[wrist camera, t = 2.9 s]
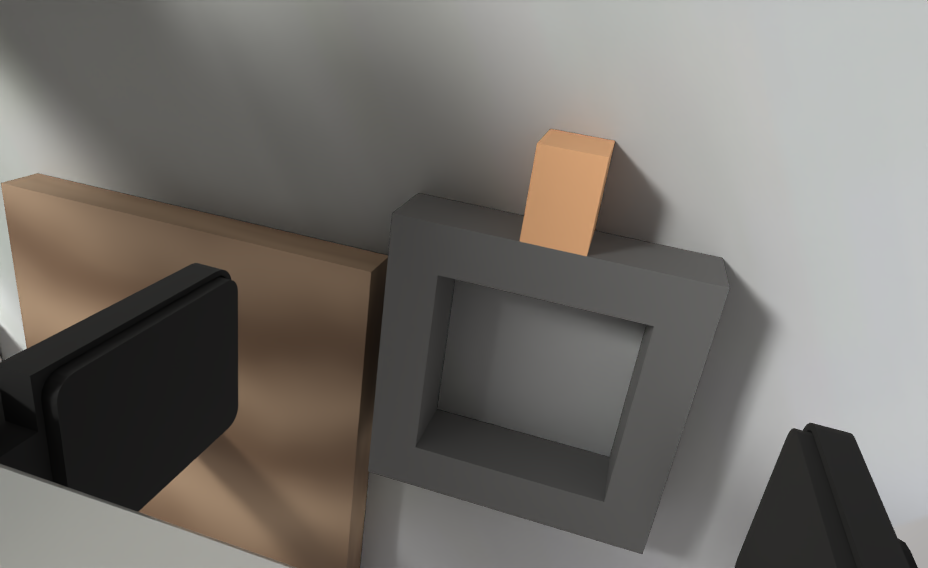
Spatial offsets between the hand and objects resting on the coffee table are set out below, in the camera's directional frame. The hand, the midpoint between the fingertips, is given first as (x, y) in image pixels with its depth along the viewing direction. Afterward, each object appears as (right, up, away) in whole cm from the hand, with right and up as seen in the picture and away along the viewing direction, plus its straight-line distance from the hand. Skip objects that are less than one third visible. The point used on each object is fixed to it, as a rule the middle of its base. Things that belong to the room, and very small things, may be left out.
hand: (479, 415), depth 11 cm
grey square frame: (+3, +1, +17) cm, 17 cm away
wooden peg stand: (-13, -4, +23) cm, 27 cm away
